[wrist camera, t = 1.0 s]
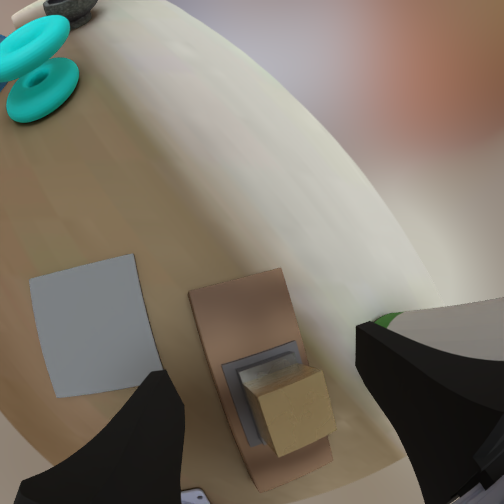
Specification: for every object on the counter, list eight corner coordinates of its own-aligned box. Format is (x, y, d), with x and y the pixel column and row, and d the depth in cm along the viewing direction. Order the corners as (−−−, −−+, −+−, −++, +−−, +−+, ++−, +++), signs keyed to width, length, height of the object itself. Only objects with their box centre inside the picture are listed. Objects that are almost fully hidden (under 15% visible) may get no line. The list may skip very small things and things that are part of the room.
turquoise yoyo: (-30, 68, 9) (33, 13, 12) (-1, 120, 18) (47, 67, 21) (11, 69, 10) (87, 9, 14) (43, 135, 20) (96, 74, 23)
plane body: (320, 450, 20) (336, 462, 17) (251, 479, 18) (261, 496, 15) (270, 272, 23) (283, 266, 20) (187, 294, 21) (189, 290, 18)
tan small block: (307, 419, 18) (339, 439, 13) (259, 439, 16) (281, 466, 12) (288, 350, 19) (319, 358, 14) (235, 368, 17) (253, 384, 13)
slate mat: (166, 378, 19) (166, 379, 18) (58, 396, 15) (57, 397, 15) (133, 254, 20) (133, 253, 20) (31, 279, 17) (28, 279, 17)
